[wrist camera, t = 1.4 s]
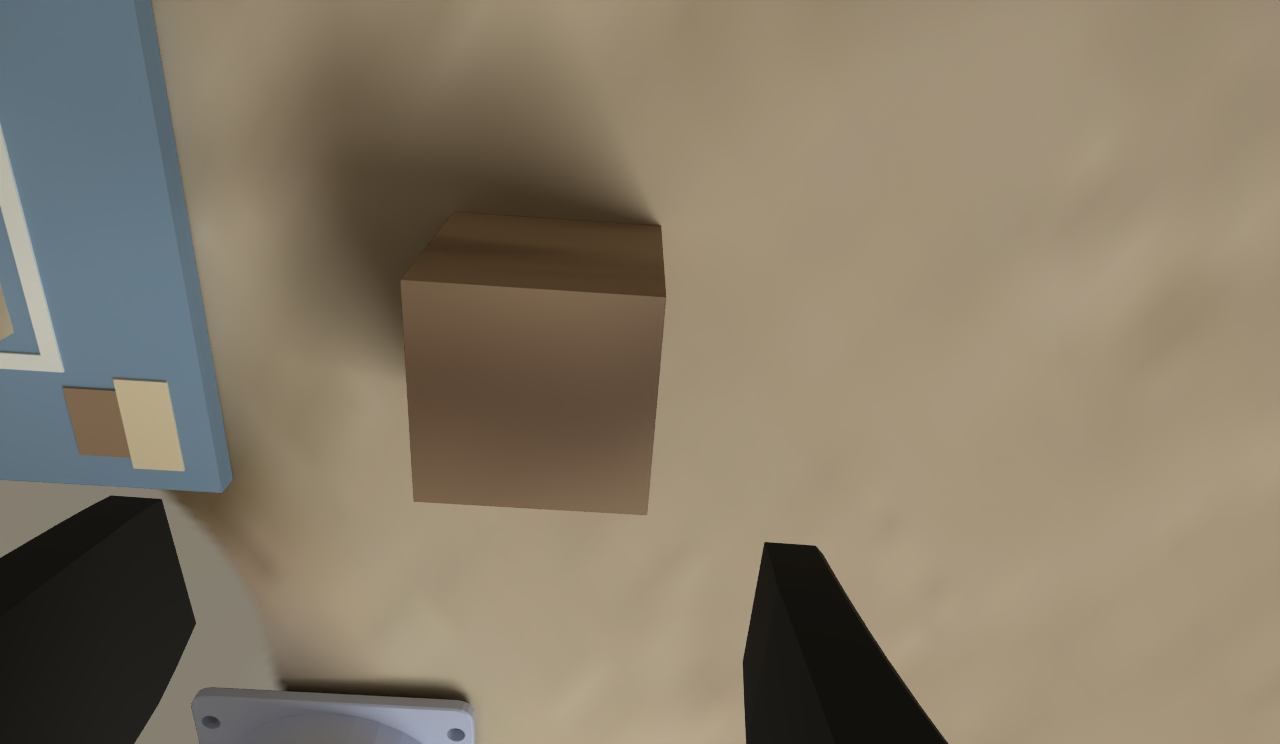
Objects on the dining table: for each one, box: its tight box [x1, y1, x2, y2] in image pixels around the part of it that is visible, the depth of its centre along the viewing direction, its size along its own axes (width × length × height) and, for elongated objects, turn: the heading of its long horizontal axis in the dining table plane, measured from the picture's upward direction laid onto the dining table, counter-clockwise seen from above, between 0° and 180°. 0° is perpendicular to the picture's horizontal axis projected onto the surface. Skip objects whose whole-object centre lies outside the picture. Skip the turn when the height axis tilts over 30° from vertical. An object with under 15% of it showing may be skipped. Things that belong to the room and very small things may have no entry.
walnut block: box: [400, 212, 666, 515], centre depth 17 cm, size 4×4×4 cm
